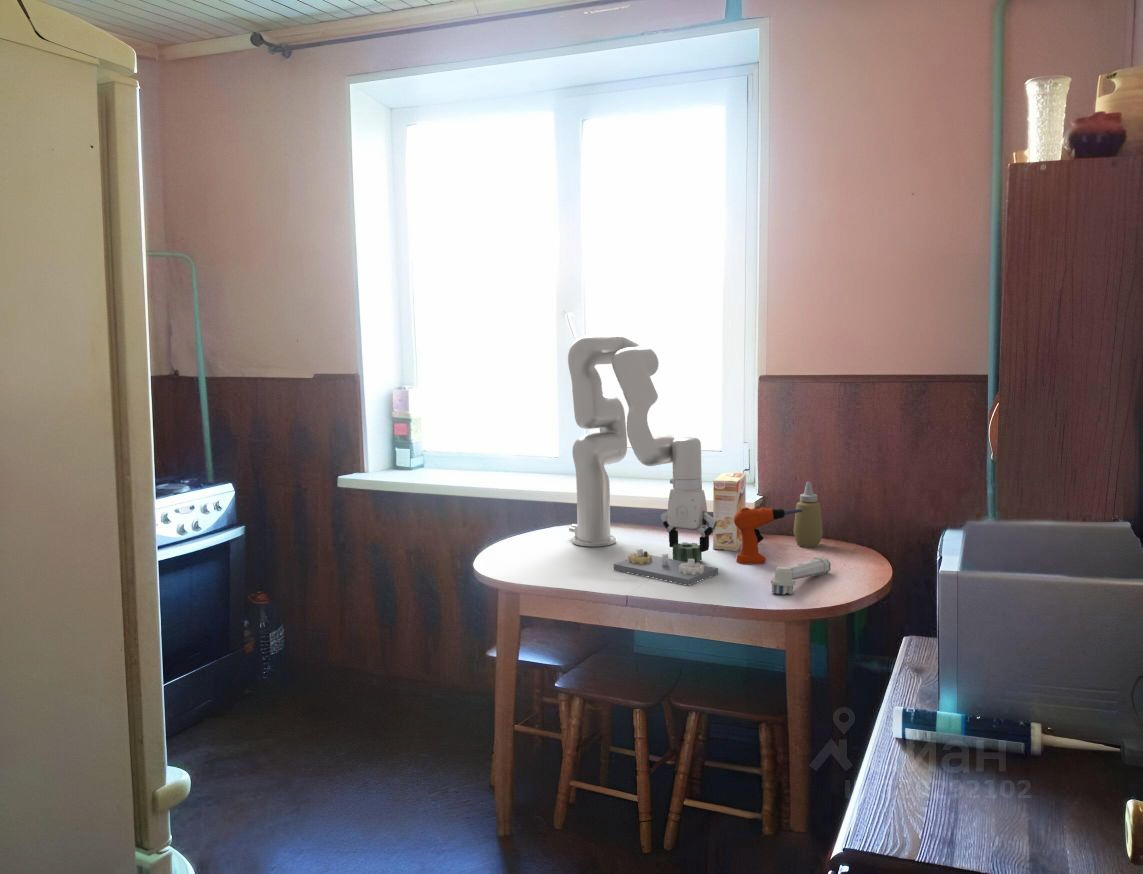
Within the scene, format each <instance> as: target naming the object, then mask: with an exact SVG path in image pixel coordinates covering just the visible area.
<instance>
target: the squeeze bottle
mask: <svg viewBox="0 0 1143 874" xmlns="http://www.w3.org/2000/svg"><path fill="white" fill-rule="evenodd" d="M813 490H814V489H813V485H812V482H811V481H806V483H805V487H804V492H803V493H801V494H799V501H798V502H796V505H795V509H803V512H798V513H794V521H793V536H794V538H795V542H796V544H797V546H799V547H805V548H815V547H818V546H820V542H821V540H822V537H823V533H824V530H823V520H822V517H823V516H822V508H821V504H820V503H819V502H818V494H815V493H814V491H813Z"/></svg>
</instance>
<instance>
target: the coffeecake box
mask: <svg viewBox="0 0 1143 874" xmlns="http://www.w3.org/2000/svg"><path fill="white" fill-rule="evenodd" d="M712 482H713V489H712V490H713V492H712V493H713V495H712V496H713V500H712V501H713V503H712V505H713V508H712V509H713V513H712V514H713V516H712V517H713V518H714V519H716V520H717V524H716V527H715V530H714V531H713V532H712V534H713V535H712V536H713V537H712V538H713V539H712V542H713V543H712V549H713V550H720V549H724V550H723V551H733V550H735V551H736V552H737V551H739V549H740V548H741V547H742V534H741V530H740V529H739V528H738V527H737V526H736V525H735V523H734V516H735V515H736V513H738V512H739V511H740V510H741V509H742V508H745V507H746V503H747V501H746V499H747V498H746V497H747V493H746V492H747V491H746V486H747V485H746V483H747V473H743V472H722V473H721V474H720V475H719V476H717V477H716V478H715V479H714V480H713V481H712Z"/></svg>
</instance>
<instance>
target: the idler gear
mask: <svg viewBox="0 0 1143 874" xmlns="http://www.w3.org/2000/svg"><path fill="white" fill-rule="evenodd" d="M702 553H703V552H700V544H698V543H695V542H692V543H691V542H690V543H688V542H680V543H679V542H678V543H676V544H674V546H673V547H672V559H673V560H678V561H683V562H688V559H695V563H699V562H700V563H701V561H700V560H702V559H703V558H702V555H703V554H702Z"/></svg>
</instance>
